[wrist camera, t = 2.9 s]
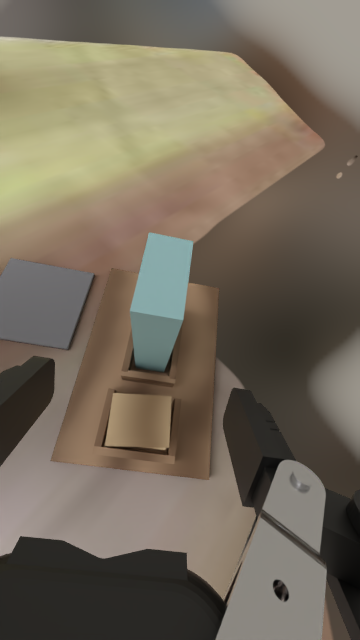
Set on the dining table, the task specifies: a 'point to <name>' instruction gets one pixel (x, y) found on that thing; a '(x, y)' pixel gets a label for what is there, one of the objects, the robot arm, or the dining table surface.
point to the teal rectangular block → (159, 300)
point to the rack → (144, 386)
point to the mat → (41, 303)
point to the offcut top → (139, 421)
